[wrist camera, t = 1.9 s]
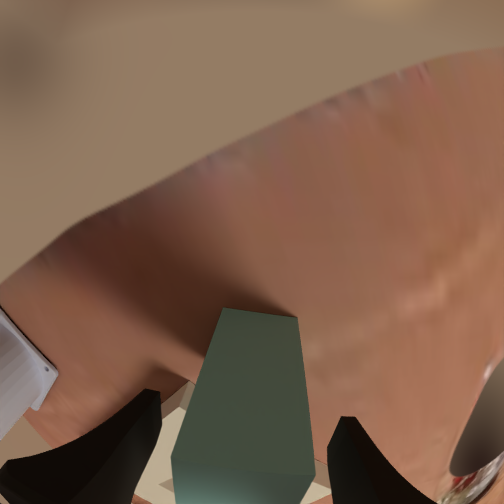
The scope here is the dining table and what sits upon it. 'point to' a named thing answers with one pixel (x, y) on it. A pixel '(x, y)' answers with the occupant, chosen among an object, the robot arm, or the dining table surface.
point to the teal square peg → (247, 417)
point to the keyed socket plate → (159, 465)
